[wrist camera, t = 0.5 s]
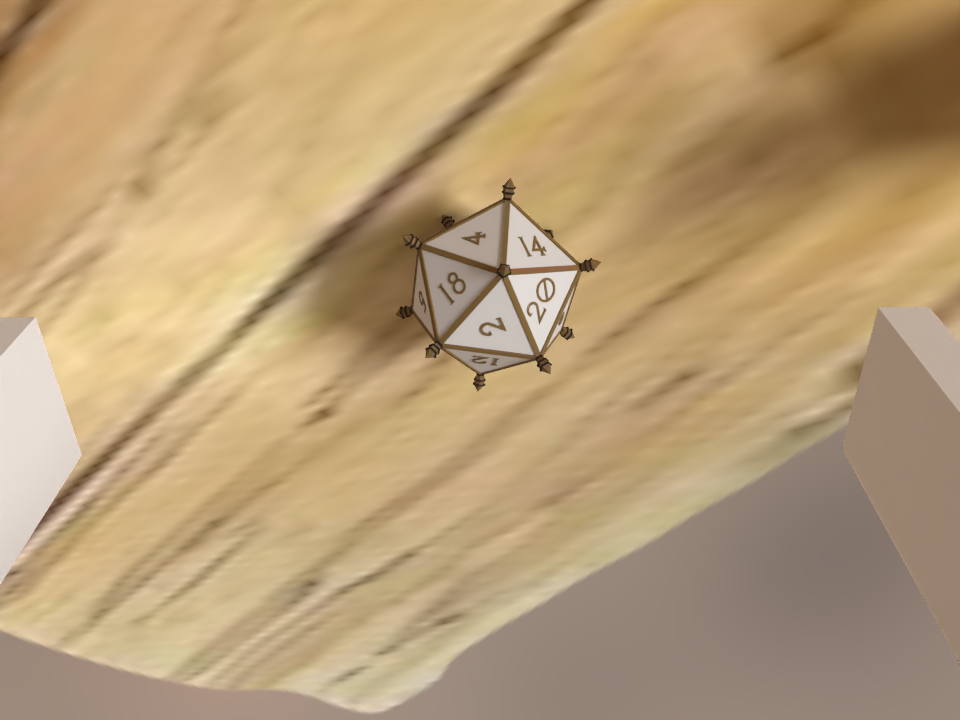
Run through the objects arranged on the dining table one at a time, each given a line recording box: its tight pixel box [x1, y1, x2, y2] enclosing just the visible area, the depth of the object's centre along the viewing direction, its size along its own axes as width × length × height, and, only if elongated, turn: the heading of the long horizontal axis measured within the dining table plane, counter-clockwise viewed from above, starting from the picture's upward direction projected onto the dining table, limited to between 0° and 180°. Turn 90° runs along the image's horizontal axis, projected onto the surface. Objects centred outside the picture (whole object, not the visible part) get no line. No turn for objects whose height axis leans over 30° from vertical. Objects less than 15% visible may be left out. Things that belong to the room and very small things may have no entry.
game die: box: [396, 178, 601, 391], centre depth 39 cm, size 9×8×10 cm
